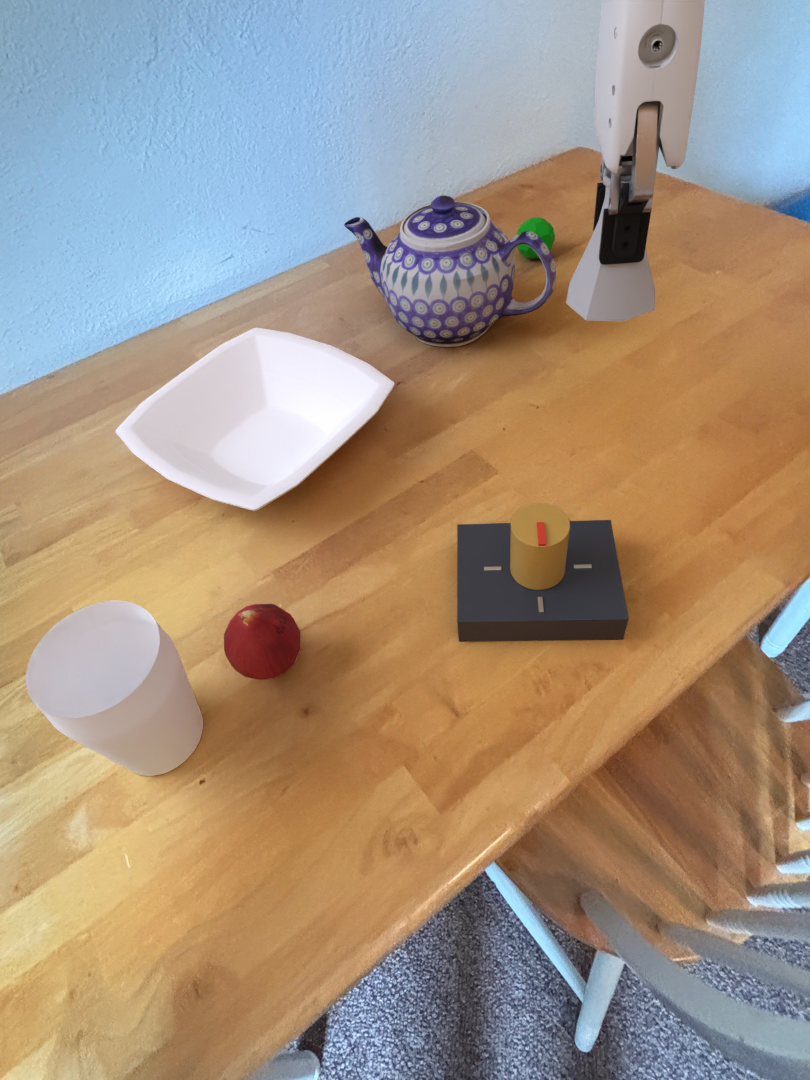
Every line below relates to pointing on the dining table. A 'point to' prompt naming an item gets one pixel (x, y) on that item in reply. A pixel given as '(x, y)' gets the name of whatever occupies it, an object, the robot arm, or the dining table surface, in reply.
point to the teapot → (449, 271)
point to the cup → (117, 687)
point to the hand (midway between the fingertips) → (617, 245)
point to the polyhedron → (540, 229)
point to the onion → (262, 641)
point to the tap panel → (539, 615)
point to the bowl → (255, 416)
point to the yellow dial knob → (539, 545)
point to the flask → (610, 280)
